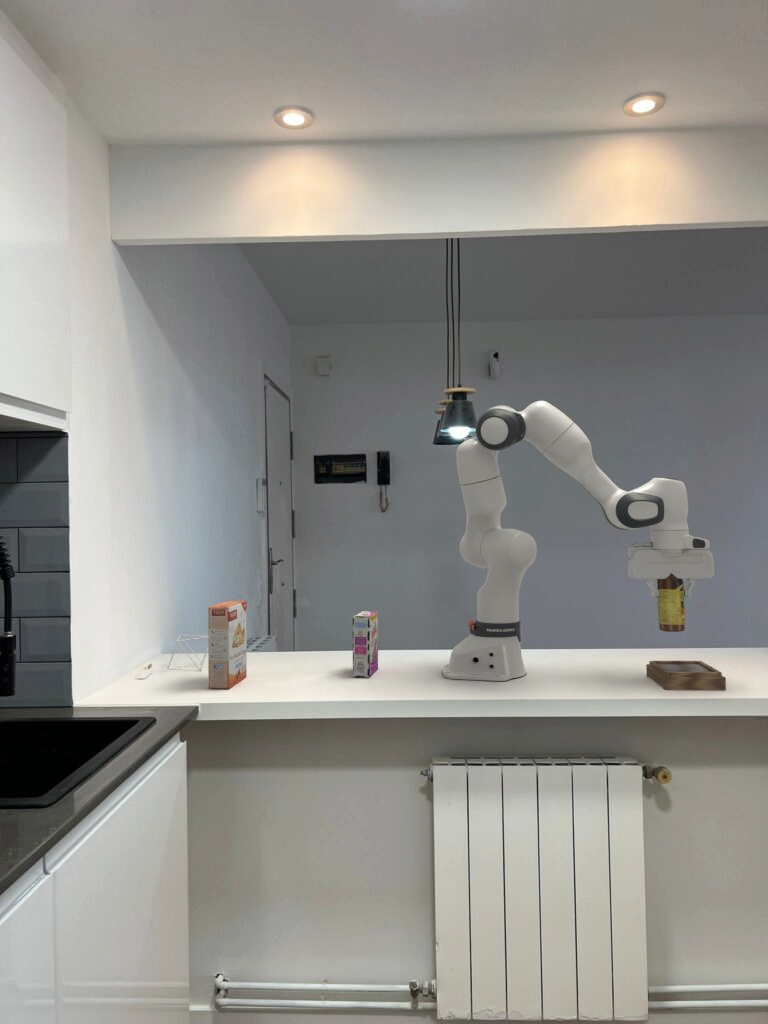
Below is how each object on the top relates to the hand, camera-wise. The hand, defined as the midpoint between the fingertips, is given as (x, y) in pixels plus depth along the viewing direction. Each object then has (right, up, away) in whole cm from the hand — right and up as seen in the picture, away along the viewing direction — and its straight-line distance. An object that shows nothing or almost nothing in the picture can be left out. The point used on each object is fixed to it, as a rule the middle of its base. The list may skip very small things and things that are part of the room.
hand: (671, 596), depth 172 cm
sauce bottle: (0, -9, 0) cm, 9 cm away
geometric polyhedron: (-128, -24, +27) cm, 133 cm away
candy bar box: (-77, -23, +16) cm, 82 cm away
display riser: (+3, -21, 0) cm, 22 cm away
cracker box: (-112, -24, +8) cm, 115 cm away
